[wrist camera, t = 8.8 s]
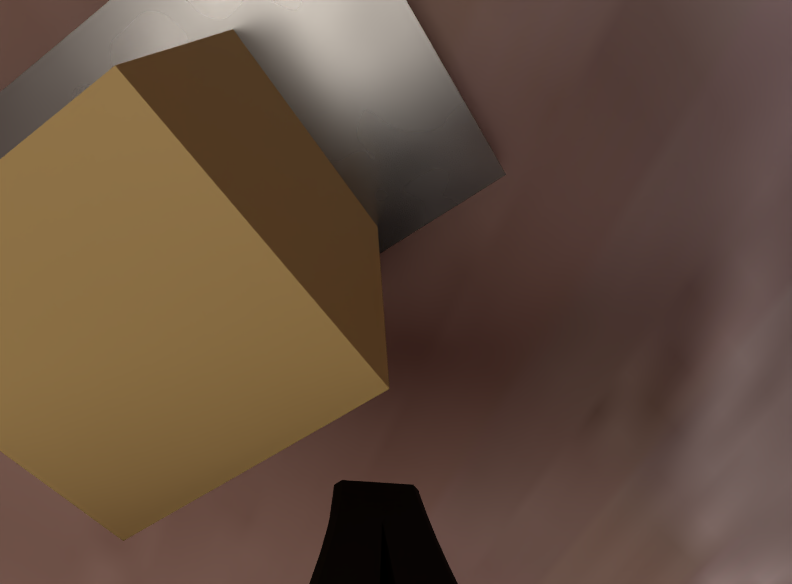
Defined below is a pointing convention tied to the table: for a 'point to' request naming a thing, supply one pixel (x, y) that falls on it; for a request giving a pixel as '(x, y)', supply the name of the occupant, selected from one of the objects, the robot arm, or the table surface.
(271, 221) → the block
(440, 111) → the gray rectangular frame
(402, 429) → the table surface
